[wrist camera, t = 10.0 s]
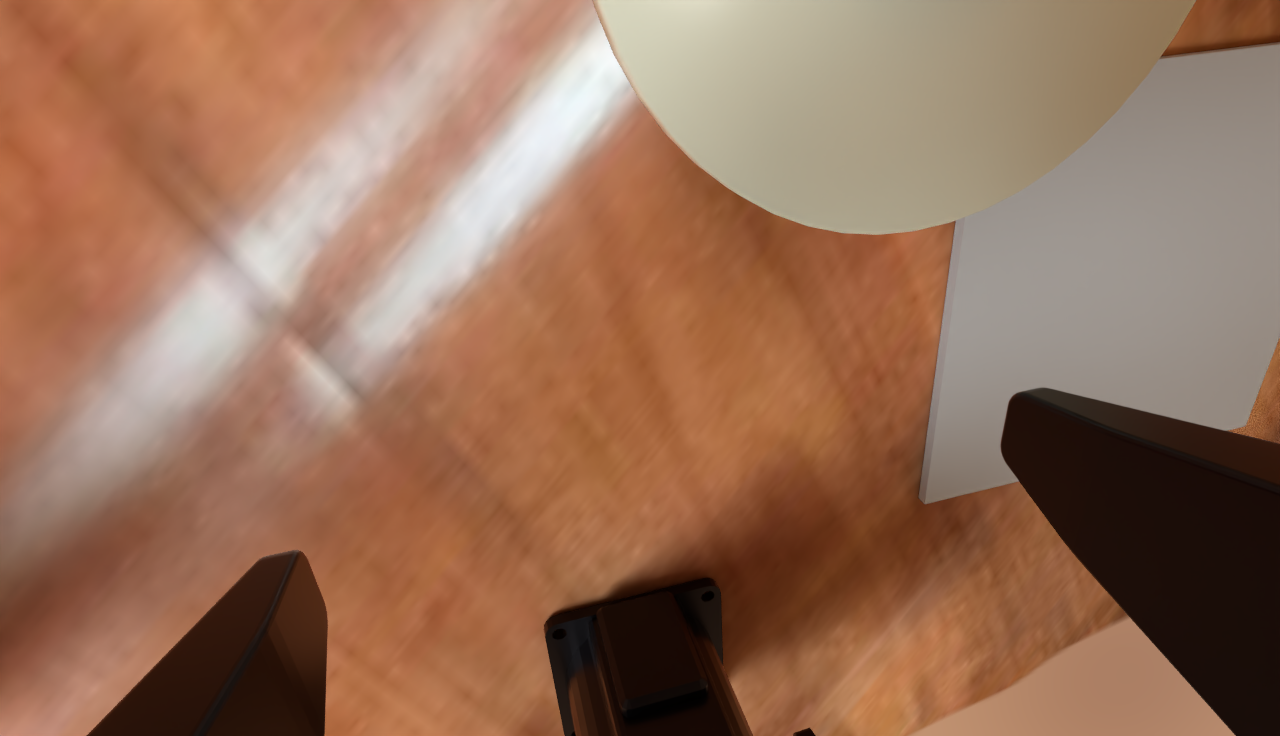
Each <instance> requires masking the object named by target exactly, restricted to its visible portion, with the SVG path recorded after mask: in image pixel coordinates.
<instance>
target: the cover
mask: <svg viewBox="0 0 1280 736" xmlns="http://www.w3.org/2000/svg"><path fill="white" fill-rule="evenodd" d="M1195 2H1196V0H593V4H594V7H595V9H596V12H597V14H598V17H599V19H600V22H601V24H602V27H603V29H604V31H605V34H606V36H607V39H608V41H609V44H610V46H611V49H612V51H613V54H614V56H615V57H616V59H617V61H618V63H619V65H620V66H621V68H622V70H623V72H624V74H625V75H626V77H627V79H628V81H629V82H630V84H631V86H632V88H633V90H634V91H635V93H636V95H637V97H638V98H639V99H640V101H641V102H642V103H643V105H644V106H645V108H646V109H647V110H648V112H649V113H650V114H651V116H652V117H653V118H654V120H655V121H656V122H657V124H658V125H659V126H660V128H661V129H662V130H663V132H664V133H665V134H666V135H667V136H668V137H669V138H670V139H671V140H672V141H673V142H674V143H675V144H676V145H677V146H678V147H679V148H680V149H681V150H682V151H683V152H684V153H685V154H686V155H687V156H688V157H689V158H690V159H691V160H692V161H693V162H694V163H695V164H696V165H698V166H699V167H700V168H701V169H703V170H704V171H705V172H707V173H708V174H709V175H711V176H712V177H713V178H715V179H716V180H717V181H719V182H720V183H721V184H722V185H724V186H725V187H727V188H728V189H730V190H732V191H733V192H735V193H736V194H738V195H740V196H741V197H743V198H745V199H747V200H749V201H751V202H752V203H754V204H756V205H758V206H760V207H762V208H763V209H765V210H767V211H769V212H771V213H773V214H775V215H778V216H781V217H784V218H786V219H789V220H792V221H795V222H797V223H800V224H803V225H806V226H809V227H814V228H819V229H824V230H830V231H835V232H840V233H852V234H874V235H880V234H890V233H901V232H911V231H917V230H921V229H925V228H930V227H934V226H938V225H942V224H946V223H950V222H953V221H956V220H958V219H961V218H964V217H966V216H969V215H972V214H974V213H977V212H979V211H982V210H985V209H987V208H989V207H991V206H993V205H995V204H996V203H998V202H1000V201H1002V200H1004V199H1006V198H1008V197H1010V196H1012V195H1014V194H1016V193H1018V192H1020V191H1021V190H1023V189H1024V188H1026V187H1027V186H1029V185H1030V184H1032V183H1033V182H1035V181H1036V180H1038V179H1039V178H1041V177H1042V176H1044V175H1045V174H1047V173H1048V172H1050V171H1051V170H1053V169H1054V168H1055V167H1057V166H1058V165H1059V164H1060V163H1061V162H1063V161H1064V160H1065V159H1066V158H1067V157H1069V156H1070V155H1071V154H1072V153H1074V152H1075V151H1076V150H1077V149H1078V148H1080V147H1081V146H1082V145H1083V144H1085V143H1086V142H1087V141H1088V140H1089V139H1090V138H1091V137H1092V136H1093V135H1094V134H1095V133H1096V132H1097V131H1098V130H1099V129H1100V128H1101V127H1102V126H1103V125H1104V124H1105V123H1106V122H1107V121H1108V120H1109V119H1110V118H1111V117H1112V116H1113V115H1114V114H1115V113H1116V112H1117V111H1118V110H1119V109H1120V107H1121V106H1122V105H1123V104H1124V103H1125V101H1126V100H1127V99H1128V98H1129V97H1130V96H1131V94H1132V93H1133V92H1134V91H1135V90H1136V88H1137V87H1138V86H1139V85H1140V84H1141V83H1142V81H1143V80H1144V79H1145V78H1146V77H1147V75H1148V74H1149V72H1150V71H1151V70H1152V68H1153V67H1154V65H1155V64H1156V63H1157V61H1158V60H1159V58H1160V57H1161V56H1162V54H1163V53H1164V51H1165V50H1166V48H1167V47H1168V46H1169V44H1170V43H1171V41H1172V40H1173V39H1174V37H1175V36H1176V34H1177V32H1178V30H1179V29H1180V27H1181V25H1182V24H1183V22H1184V20H1185V19H1186V17H1187V15H1188V14H1189V12H1190V10H1191V9H1192V7H1193V5H1194V4H1195Z"/></svg>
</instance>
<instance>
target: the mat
mask: <svg viewBox="0 0 1280 736" xmlns="http://www.w3.org/2000/svg"><path fill="white" fill-rule="evenodd" d="M1279 338H1280V42H1276V43H1268V44H1260V45H1252V46H1244V47H1235V48H1227V49H1219V50H1211V51H1203V52H1195V53H1187V54H1178V55H1170V56H1162V57H1160V58H1159V60H1158V61H1157V63H1156V64H1155V65H1154V67H1153V68H1152V70H1151V71H1150V72H1149V74H1148V75H1147V77H1146V78H1145V79H1144V80H1143V81H1142V83H1141V84H1140V85H1139V86H1138V87H1137V88H1136V90H1135V91H1134V92H1133V93H1132V94H1131V96H1130V97H1129V98H1128V99H1127V100H1126V101H1125V103H1124V104H1123V105H1122V106H1121V107H1120V109H1119V110H1118V111H1117V112H1116V113H1115V114H1114V115H1113V116H1112V117H1111V118H1110V119H1109V120H1108V121H1107V122H1106V123H1105V124H1104V125H1103V126H1102V127H1101V128H1100V129H1099V130H1098V131H1097V132H1096V133H1095V134H1094V135H1093V136H1092V137H1091V138H1090V139H1089V140H1088V141H1087V142H1086V143H1085V144H1083V145H1082V146H1081V147H1080V148H1078V149H1077V150H1076V151H1075V152H1074V153H1072V154H1071V155H1070V156H1069V157H1067V158H1066V159H1065V160H1064V161H1063V162H1061V163H1060V164H1059V165H1058V166H1057V167H1055V168H1054V169H1053V170H1051V171H1050V172H1048V173H1047V174H1045V175H1044V176H1042V177H1041V178H1039V179H1038V180H1036V181H1035V182H1033V183H1032V184H1030V185H1029V186H1027V187H1026V188H1024V189H1023V190H1021V191H1020V192H1018V193H1016V194H1014V195H1012V196H1010V197H1008V198H1006V199H1004V200H1002V201H1000V202H998V203H996V204H995V205H993V206H991V207H989V208H987V209H985V210H982V211H979V212H977V213H974V214H972V215H969V216H966V217H964V218H961V219H958V220H956V224H955V231H954V239H953V246H952V253H951V261H950V268H949V276H948V283H947V290H946V298H945V305H944V313H943V320H942V327H941V335H940V342H939V350H938V357H937V364H936V372H935V379H934V387H933V394H932V401H931V409H930V416H929V424H928V431H927V438H926V446H925V453H924V461H923V468H922V475H921V483H920V490H919V499H920V500H921V501H922V502H923V503H924V504H928V503H932V502H936V501H941V500H945V499H949V498H953V497H957V496H961V495H965V494H969V493H973V492H977V491H982V490H986V489H990V488H994V487H998V486H1002V485H1006V484H1010V483H1014V482H1018V481H1019V480H1018V479H1017V478H1016V476H1015V475H1014V474H1013V472H1012V471H1011V470H1010V468H1009V467H1008V466H1007V464H1006V463H1005V461H1004V459H1003V457H1002V453H1001V447H1000V444H1001V438H1002V432H1003V427H1004V422H1005V417H1006V412H1007V407H1008V403H1009V400H1010V399H1011V397H1012V396H1013V395H1014V394H1016V393H1018V392H1021V391H1026V390H1030V389H1035V388H1042V387H1045V388H1050V389H1055V390H1059V391H1063V392H1067V393H1071V394H1075V395H1079V396H1084V397H1088V398H1092V399H1096V400H1100V401H1104V402H1108V403H1113V404H1117V405H1121V406H1125V407H1129V408H1133V409H1137V410H1142V411H1146V412H1150V413H1154V414H1158V415H1162V416H1166V417H1171V418H1175V419H1179V420H1183V421H1187V422H1191V423H1196V424H1200V425H1204V426H1208V427H1212V428H1216V429H1220V430H1225V431H1227V430H1232V429H1236V428H1240V427H1244V426H1246V424H1247V421H1248V418H1249V416H1250V413H1251V411H1252V408H1253V405H1254V403H1255V400H1256V397H1257V395H1258V392H1259V390H1260V387H1261V384H1262V382H1263V379H1264V377H1265V374H1266V371H1267V369H1268V366H1269V364H1270V361H1271V358H1272V356H1273V353H1274V351H1275V348H1276V345H1277V343H1278V340H1279Z"/></svg>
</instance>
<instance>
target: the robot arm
mask: <svg viewBox="0 0 1280 736" xmlns="http://www.w3.org/2000/svg"><path fill="white" fill-rule="evenodd" d="M1000 447H1001V453H1002V457H1003V459H1004V461H1005V463H1006V464H1007V466H1008V467H1009V468H1010V470H1011V471H1012V472H1013V474H1014V475H1015V476H1016V478H1017V479H1018V480H1019V482H1020V483H1021V484H1022V486H1023V487H1024V488H1025V490H1026V491H1027V493H1028V494H1029V495H1030V497H1031V498H1032V499H1033V501H1034V502H1035V503H1036V505H1037V506H1038V507H1039V509H1040V510H1041V511H1042V513H1043V514H1044V516H1045V517H1046V518H1047V520H1048V521H1049V522H1050V524H1051V525H1052V526H1053V528H1054V529H1055V530H1056V532H1057V533H1058V534H1059V536H1060V537H1061V538H1062V540H1063V541H1064V542H1065V544H1066V545H1067V546H1068V547H1069V549H1070V550H1071V551H1072V553H1073V554H1074V555H1075V556H1076V557H1077V558H1078V560H1079V561H1080V562H1081V563H1082V564H1083V565H1084V567H1085V568H1086V569H1087V570H1088V571H1089V572H1090V573H1091V574H1092V576H1093V577H1094V578H1095V579H1096V580H1097V581H1098V582H1099V583H1100V585H1101V586H1102V587H1103V588H1104V589H1105V590H1106V591H1107V592H1108V593H1109V595H1110V596H1111V597H1112V598H1113V599H1114V600H1115V601H1116V602H1117V604H1118V605H1119V606H1120V607H1121V608H1122V609H1123V610H1124V611H1125V612H1126V614H1127V615H1128V616H1129V617H1130V618H1131V619H1132V620H1133V621H1134V622H1135V624H1136V625H1137V626H1138V627H1139V628H1140V629H1141V630H1142V631H1143V632H1144V634H1145V635H1146V636H1147V637H1148V638H1149V639H1150V640H1151V641H1152V643H1153V644H1154V645H1155V646H1156V647H1157V648H1158V649H1159V650H1160V652H1161V653H1162V654H1163V655H1164V656H1165V657H1166V658H1167V659H1168V660H1169V662H1170V663H1171V664H1172V665H1173V666H1174V667H1175V668H1176V669H1177V671H1179V673H1180V674H1181V675H1182V676H1183V677H1184V678H1185V679H1186V681H1187V682H1188V683H1189V684H1190V685H1191V686H1192V687H1193V688H1194V690H1195V691H1196V692H1197V693H1198V694H1199V695H1200V696H1201V697H1202V699H1203V700H1204V701H1205V702H1206V703H1207V704H1208V705H1209V706H1210V707H1211V709H1213V711H1214V712H1215V713H1216V714H1217V715H1218V716H1219V717H1220V719H1221V720H1222V721H1223V722H1224V723H1225V724H1226V725H1227V726H1228V728H1229V729H1230V730H1231V731H1232V732H1233V733H1234V734H1235V735H1236V736H1280V444H1278V443H1274V442H1270V441H1266V440H1262V439H1258V438H1254V437H1249V436H1245V435H1241V434H1237V433H1233V432H1229V431H1225V430H1220V429H1216V428H1212V427H1208V426H1204V425H1200V424H1196V423H1191V422H1187V421H1183V420H1179V419H1175V418H1171V417H1166V416H1162V415H1158V414H1154V413H1150V412H1146V411H1142V410H1137V409H1133V408H1129V407H1125V406H1121V405H1117V404H1113V403H1108V402H1104V401H1100V400H1096V399H1092V398H1088V397H1084V396H1079V395H1075V394H1071V393H1067V392H1063V391H1059V390H1055V389H1050V388H1045V387H1042V388H1035V389H1030V390H1026V391H1021V392H1018V393H1016V394H1014V395H1013V396H1012V397H1011V399H1010V400H1009V403H1008V407H1007V412H1006V417H1005V422H1004V427H1003V432H1002V438H1001V444H1000ZM707 591H709V592H707ZM705 592H707V593H705ZM704 593H705V594H704ZM327 629H328V621H327V611H326V606H325V603H324V600H323V597H322V595H321V592H320V590H319V587H318V585H317V582H316V579H315V577H314V574H313V572H312V569H311V567H310V564H309V562H308V559H307V557H306V556H305V555H304V553H303V552H301V551H299V550H292V551H288V552H283V553H278V554H274V555H269V556H265V557H263V558H261V559H259V560H258V561H257V562H256V563H255V564H254V565H253V566H252V567H251V568H250V569H249V570H248V571H247V572H246V573H245V574H244V575H243V576H242V577H241V578H240V579H239V580H238V581H237V582H236V583H235V584H234V585H233V586H232V587H231V589H230V590H229V591H228V592H227V593H226V594H225V595H224V596H223V597H222V598H221V599H220V600H219V601H218V602H217V603H216V604H215V605H214V606H213V607H212V608H211V609H210V610H209V611H208V612H207V613H206V614H205V615H204V616H203V617H202V618H201V619H200V620H199V621H198V622H197V623H196V624H195V625H194V626H193V627H192V628H191V629H190V630H189V631H188V633H187V634H186V635H185V636H184V637H183V638H182V639H181V640H180V641H179V642H178V643H177V644H176V645H175V646H174V647H173V648H172V649H171V650H170V651H169V652H168V653H167V654H166V655H165V656H164V657H163V658H162V659H161V660H160V661H159V662H158V663H157V664H156V665H155V666H154V667H153V668H152V669H151V670H150V671H149V672H148V673H147V674H146V675H145V676H144V678H143V679H142V680H141V681H140V682H139V683H138V684H137V685H136V686H135V687H134V688H133V689H132V690H131V691H130V692H129V693H128V694H127V695H126V696H125V697H124V698H123V699H122V700H121V701H120V702H119V703H118V704H117V705H116V706H115V707H114V708H113V709H112V710H111V711H110V712H109V713H108V714H107V715H106V716H105V717H104V718H103V719H102V720H101V722H100V723H99V724H98V725H97V726H96V727H95V728H94V729H93V730H92V731H91V732H90V733H89V734H88V735H87V736H324V734H325V700H326V664H327ZM557 629H561V630H559V631H555V630H557ZM544 633H545V638H546V643H547V649H548V654H549V659H550V664H551V669H552V674H553V679H554V684H555V689H556V694H557V699H558V704H559V709H560V714H561V719H562V725H563V730H564V735H565V736H753V734H752V732H751V730H750V727H749V725H748V723H747V720H746V718H745V716H744V714H743V711H742V709H741V707H740V704H739V702H738V700H737V697H736V695H735V693H734V691H733V688H732V686H731V684H730V681H729V679H728V677H727V674H726V672H725V670H724V668H723V648H722V616H721V592H720V589H719V587H718V585H717V583H716V581H714V580H713V579H710V578H706V579H700V580H696V581H692V582H688V583H684V584H680V585H676V586H672V587H668V588H664V589H660V590H656V591H652V592H648V593H644V594H640V595H636V596H632V597H628V598H624V599H620V600H616V601H612V602H608V603H604V604H600V605H596V606H592V607H588V608H584V609H580V610H576V611H572V612H568V613H564V614H560V615H556V616H554V617H551V618H550V619H548V620H547V621H546V623H545V624H544ZM793 736H815V734H814V733H813V731H812V730H811V729H810V728H807V729H804V730H801V731H798V732H795V733H794V734H793Z"/></svg>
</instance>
